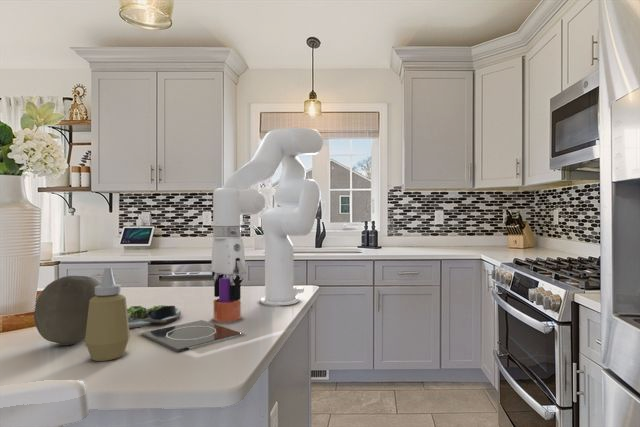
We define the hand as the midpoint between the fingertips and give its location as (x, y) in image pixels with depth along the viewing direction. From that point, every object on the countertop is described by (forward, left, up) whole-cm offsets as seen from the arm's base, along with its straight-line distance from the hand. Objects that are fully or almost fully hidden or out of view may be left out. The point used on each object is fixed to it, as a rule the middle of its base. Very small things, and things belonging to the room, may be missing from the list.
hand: (227, 297), depth 110 cm
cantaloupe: (+35, -9, -6) cm, 37 cm away
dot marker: (0, 0, -6) cm, 6 cm away
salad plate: (+15, -15, -6) cm, 22 cm away
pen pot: (0, 0, -6) cm, 6 cm away
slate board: (+14, +6, -6) cm, 16 cm away
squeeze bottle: (+33, +7, -6) cm, 34 cm away
